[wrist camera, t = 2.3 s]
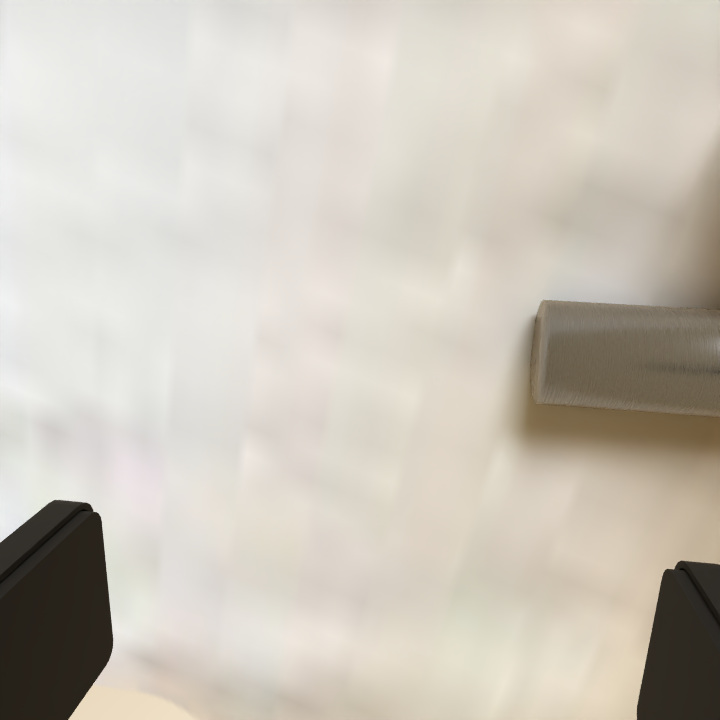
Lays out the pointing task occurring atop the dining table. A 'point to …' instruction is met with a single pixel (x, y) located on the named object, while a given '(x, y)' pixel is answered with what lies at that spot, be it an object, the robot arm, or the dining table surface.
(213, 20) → the dining table surface
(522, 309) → the dining table surface
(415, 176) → the dining table surface
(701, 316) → the axle
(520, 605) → the dining table surface
